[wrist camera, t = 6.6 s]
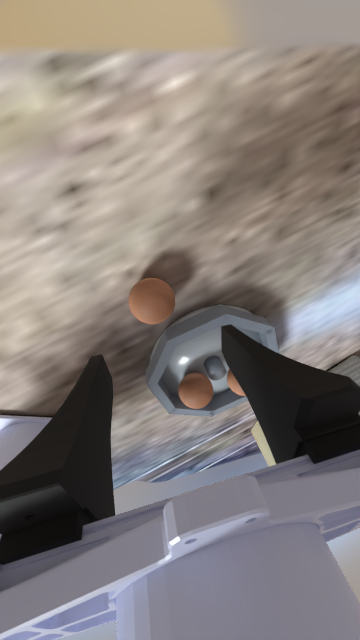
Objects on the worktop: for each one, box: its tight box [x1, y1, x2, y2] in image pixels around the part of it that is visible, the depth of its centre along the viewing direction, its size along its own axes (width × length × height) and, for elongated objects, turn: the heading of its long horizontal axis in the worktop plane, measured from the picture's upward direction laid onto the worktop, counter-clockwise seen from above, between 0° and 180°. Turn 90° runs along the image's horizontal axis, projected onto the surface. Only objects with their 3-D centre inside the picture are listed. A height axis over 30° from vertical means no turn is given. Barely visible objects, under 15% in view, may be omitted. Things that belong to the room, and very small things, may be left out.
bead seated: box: [227, 368, 246, 396], centre depth 26 cm, size 4×4×4 cm
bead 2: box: [178, 372, 213, 409], centre depth 25 cm, size 4×4×4 cm
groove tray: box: [145, 304, 279, 417], centre depth 26 cm, size 14×14×3 cm
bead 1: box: [129, 278, 175, 324], centre depth 19 cm, size 4×4×4 cm
